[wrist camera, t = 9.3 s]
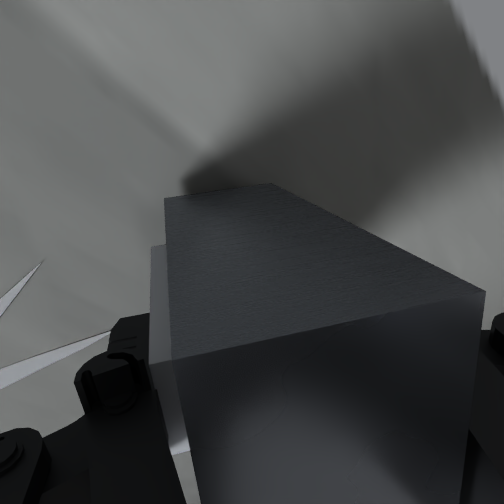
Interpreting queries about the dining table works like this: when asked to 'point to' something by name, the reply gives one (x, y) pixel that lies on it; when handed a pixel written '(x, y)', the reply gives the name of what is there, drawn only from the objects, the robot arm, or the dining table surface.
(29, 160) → the dining table surface
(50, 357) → the scissors
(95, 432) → the robot arm
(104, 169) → the dining table surface
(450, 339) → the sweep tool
